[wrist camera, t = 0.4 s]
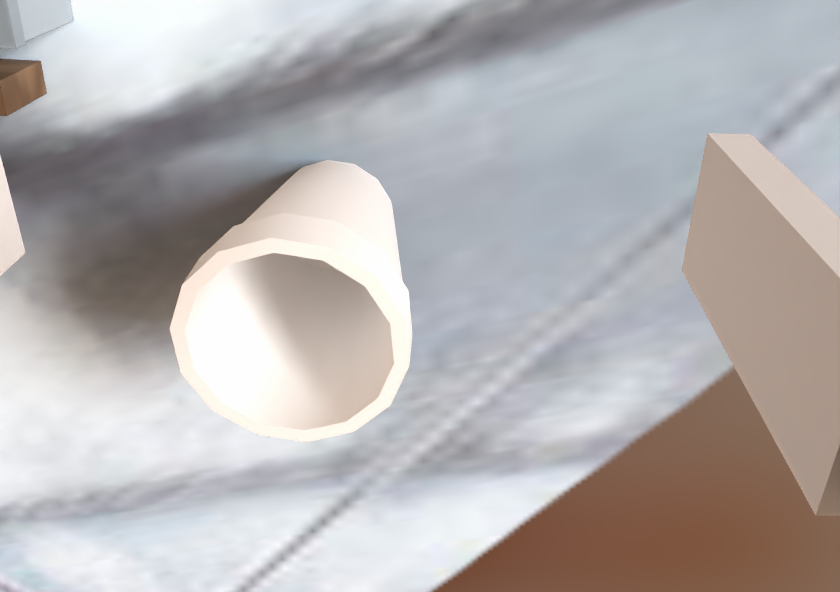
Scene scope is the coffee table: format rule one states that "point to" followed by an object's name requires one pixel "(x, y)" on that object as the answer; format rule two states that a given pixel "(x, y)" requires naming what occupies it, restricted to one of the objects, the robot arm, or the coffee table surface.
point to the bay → (19, 84)
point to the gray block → (31, 19)
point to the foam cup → (300, 310)
